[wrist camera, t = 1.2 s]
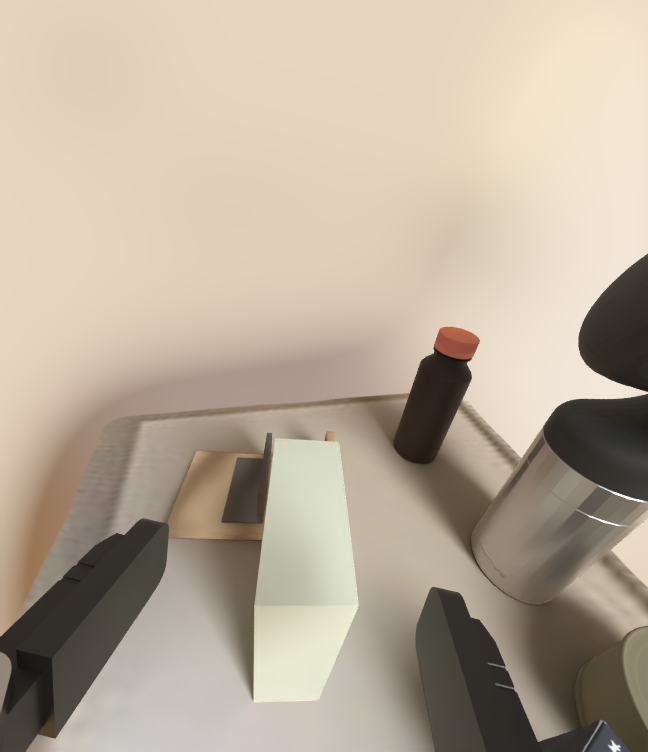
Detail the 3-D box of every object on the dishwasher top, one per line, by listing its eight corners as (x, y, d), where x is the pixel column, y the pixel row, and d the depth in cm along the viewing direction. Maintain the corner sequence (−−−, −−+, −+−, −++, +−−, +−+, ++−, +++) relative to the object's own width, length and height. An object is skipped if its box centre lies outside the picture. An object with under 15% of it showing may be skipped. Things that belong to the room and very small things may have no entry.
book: (315, 555, 33) (339, 441, 24) (318, 700, 24) (358, 605, 15) (268, 554, 33) (275, 438, 24) (253, 702, 23) (254, 605, 14)
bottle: (410, 469, 45) (459, 349, 34) (385, 437, 50) (421, 324, 39) (444, 459, 48) (500, 345, 37) (417, 430, 53) (459, 322, 42)
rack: (327, 465, 44) (334, 431, 40) (332, 541, 35) (341, 506, 31) (197, 458, 42) (192, 422, 38) (166, 537, 33) (156, 500, 29)
